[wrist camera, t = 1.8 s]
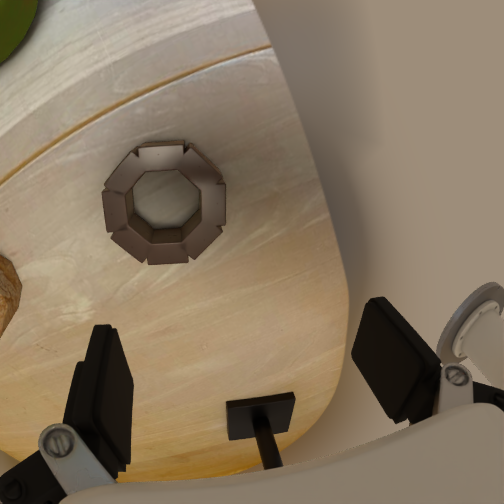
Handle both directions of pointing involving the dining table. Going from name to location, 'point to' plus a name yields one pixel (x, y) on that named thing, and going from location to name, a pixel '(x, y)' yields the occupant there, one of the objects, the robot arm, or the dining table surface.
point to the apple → (14, 23)
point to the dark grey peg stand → (261, 423)
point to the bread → (8, 293)
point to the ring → (173, 239)
